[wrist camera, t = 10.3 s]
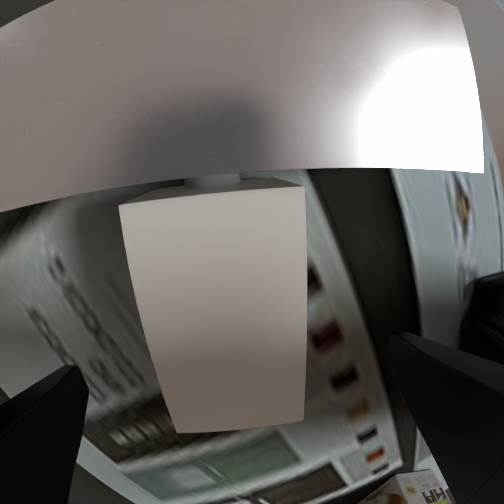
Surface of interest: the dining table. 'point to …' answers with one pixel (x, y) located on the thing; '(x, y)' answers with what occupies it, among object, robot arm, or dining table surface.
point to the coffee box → (409, 490)
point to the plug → (223, 298)
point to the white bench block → (230, 91)
